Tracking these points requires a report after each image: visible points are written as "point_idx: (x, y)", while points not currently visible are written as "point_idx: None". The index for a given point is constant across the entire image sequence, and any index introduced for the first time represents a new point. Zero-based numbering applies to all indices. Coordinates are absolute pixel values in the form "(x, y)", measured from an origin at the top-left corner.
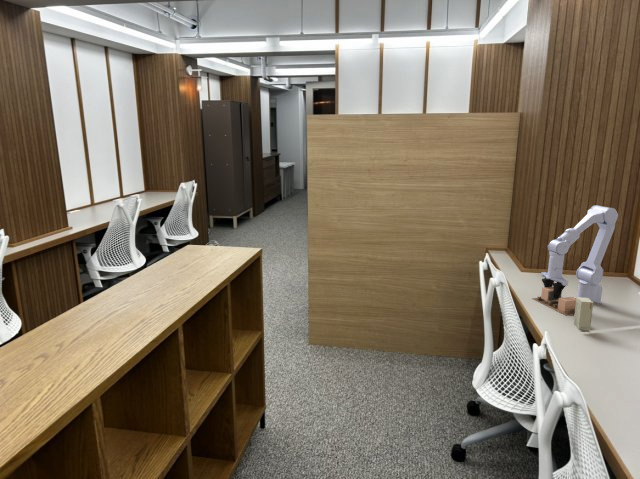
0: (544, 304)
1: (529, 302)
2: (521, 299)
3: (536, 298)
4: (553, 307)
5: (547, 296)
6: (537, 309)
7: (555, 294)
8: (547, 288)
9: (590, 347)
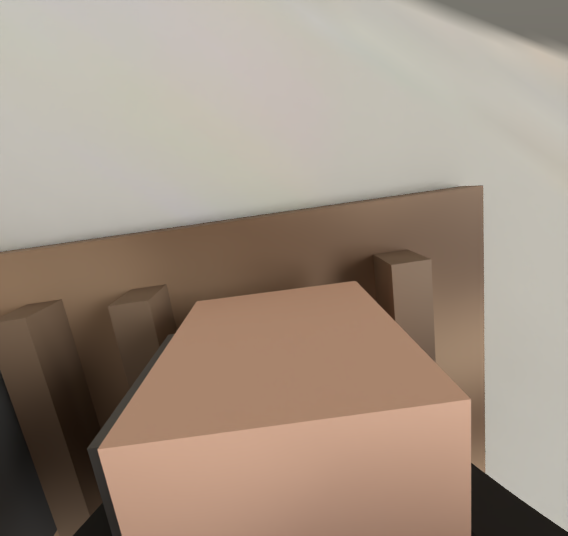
0: (192, 243)
1: (390, 113)
2: (535, 57)
3: (462, 268)
4: (45, 302)
5: (179, 337)
6: (80, 61)
7: (88, 529)
8: (346, 532)
9: None
